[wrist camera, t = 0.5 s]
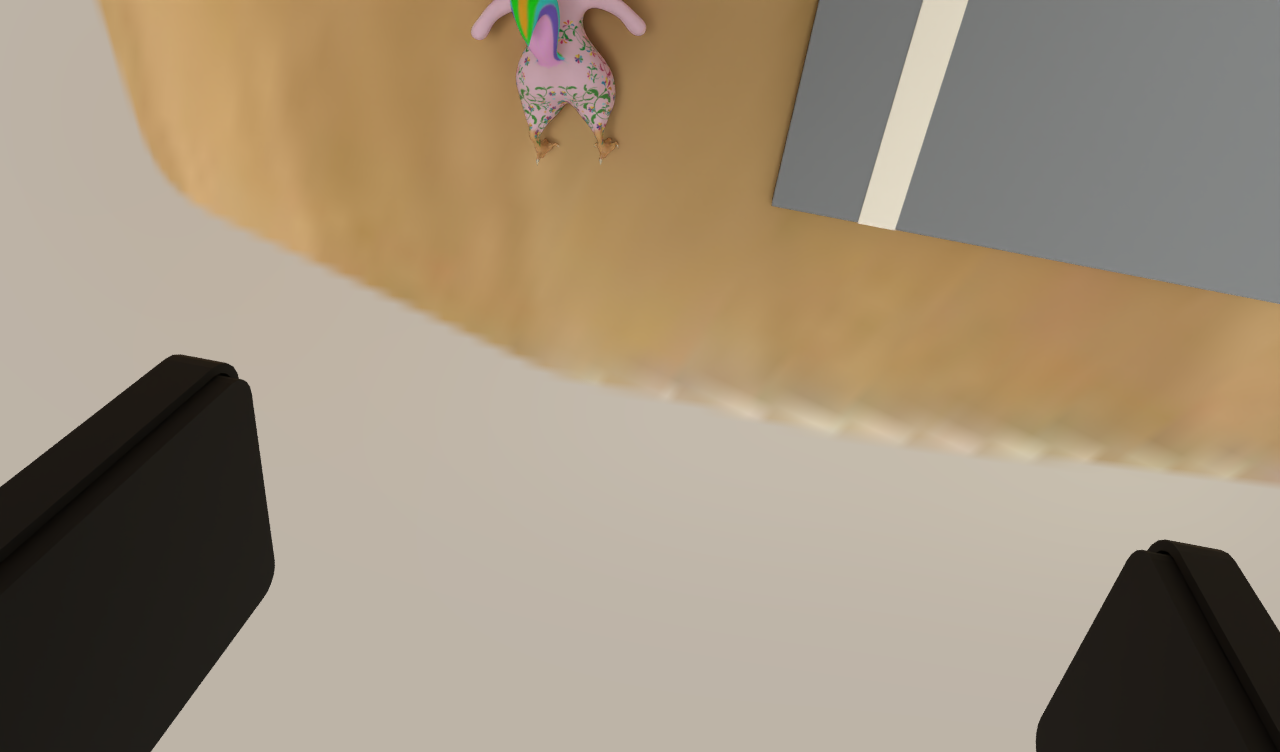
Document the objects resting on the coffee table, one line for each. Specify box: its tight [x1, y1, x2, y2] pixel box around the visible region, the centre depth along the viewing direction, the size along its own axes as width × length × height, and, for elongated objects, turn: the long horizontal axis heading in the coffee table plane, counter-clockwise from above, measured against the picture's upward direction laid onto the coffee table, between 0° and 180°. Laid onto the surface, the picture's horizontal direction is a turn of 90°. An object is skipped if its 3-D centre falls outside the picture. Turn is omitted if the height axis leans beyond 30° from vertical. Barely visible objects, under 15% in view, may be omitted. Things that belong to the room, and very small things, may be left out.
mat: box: [772, 0, 1280, 304], centre depth 28 cm, size 16×20×1 cm
